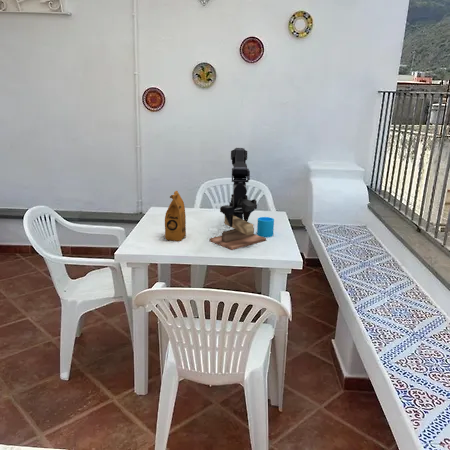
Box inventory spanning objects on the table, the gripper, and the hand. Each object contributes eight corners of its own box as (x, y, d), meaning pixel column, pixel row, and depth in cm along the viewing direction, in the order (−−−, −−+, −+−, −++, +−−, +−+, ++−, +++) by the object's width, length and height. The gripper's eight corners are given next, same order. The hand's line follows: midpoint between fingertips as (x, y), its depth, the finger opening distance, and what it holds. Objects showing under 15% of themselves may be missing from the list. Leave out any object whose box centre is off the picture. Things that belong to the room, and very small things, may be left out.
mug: (272, 237, 217) (273, 221, 215) (255, 236, 219) (256, 220, 216) (274, 230, 228) (275, 215, 226) (258, 229, 230) (259, 214, 228)
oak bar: (253, 233, 202) (253, 224, 201) (246, 235, 201) (247, 225, 199) (230, 223, 219) (230, 214, 217) (224, 223, 217) (224, 215, 216)
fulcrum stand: (209, 240, 210) (209, 228, 209) (243, 232, 224) (243, 221, 222) (231, 249, 199) (232, 237, 197) (265, 240, 213) (266, 228, 211)
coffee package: (161, 240, 209) (160, 195, 203) (168, 233, 221) (168, 189, 214) (182, 242, 207) (181, 196, 201) (188, 234, 219) (188, 190, 213)
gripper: (236, 198, 193) (235, 232, 197) (266, 193, 205) (264, 225, 209) (219, 194, 201) (219, 226, 206) (249, 189, 213) (248, 220, 217)
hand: (238, 225), depth 209 cm, fingers open, 9 cm apart
